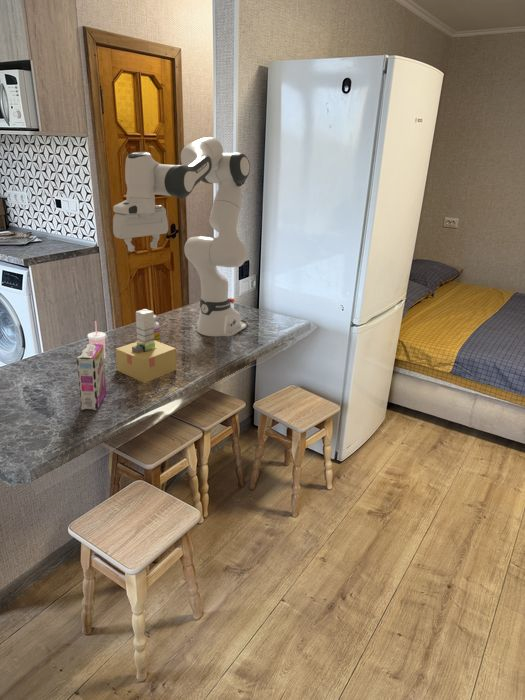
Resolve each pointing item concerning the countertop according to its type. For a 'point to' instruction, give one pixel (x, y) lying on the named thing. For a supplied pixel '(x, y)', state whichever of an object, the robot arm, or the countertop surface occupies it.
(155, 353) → the housing
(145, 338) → the column
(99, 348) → the candy bar box
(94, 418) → the countertop surface
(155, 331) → the supplement bottle
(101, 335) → the beverage cup
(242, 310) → the countertop surface
